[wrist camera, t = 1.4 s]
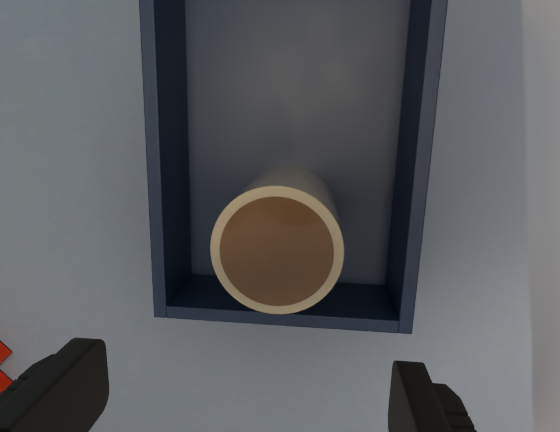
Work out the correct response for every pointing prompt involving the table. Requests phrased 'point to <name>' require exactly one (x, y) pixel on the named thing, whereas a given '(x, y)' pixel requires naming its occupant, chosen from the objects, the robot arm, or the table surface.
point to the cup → (279, 241)
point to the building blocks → (3, 381)
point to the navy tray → (291, 141)
